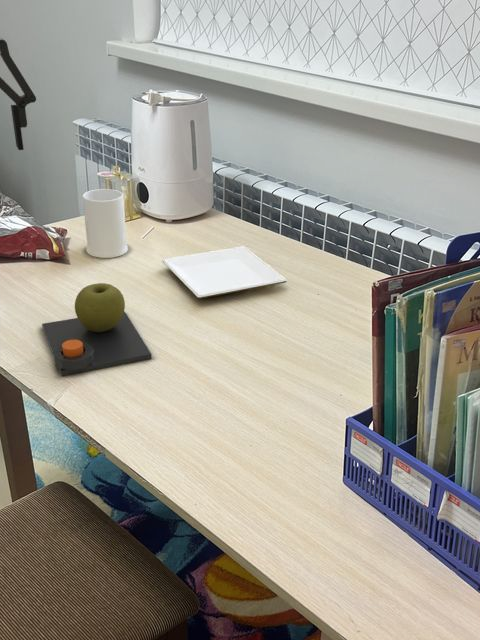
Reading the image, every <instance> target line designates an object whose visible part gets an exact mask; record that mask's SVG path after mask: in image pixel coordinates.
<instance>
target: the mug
mask: <svg viewBox="0 0 480 640" xmlns="http://www.w3.org/2000/svg"><path fill="white" fill-rule="evenodd" d="M82 205H83V215H84V224H85V225H84V226H85V233H86V235H85V236H86V253H87V254H88V255H89V256H92V257H94V258H101V259H110V258H117V257H120V256H123V255H125V254H126V253H127V252H128V251H129V246H128V244H127V230H126V215H125V214H126V213H125V199H124V193H123V192H122V191H120V190H117V189H112V188H98V189H97V188H96V189H91V190H88V191H86V192H83V194H82Z"/></svg>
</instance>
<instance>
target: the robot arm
mask: <svg viewBox="0 0 480 640" xmlns="http://www.w3.org/2000/svg"><path fill="white" fill-rule="evenodd" d="M0 58H1V59H2V61H3V62H4V64H5V66H6V67H7V69H8V71H9V72H10V74H11V75H12V77H13V78H14V80H15V82H16V83H17V85H18V87H19V88H20V90H21V91H22V93H23V94H22V95H19V94H18V93H17V91H15V90H14V89H13V88H12V87H11V85H9V84H8V83H7V82H6V81H5V80H4V78H2V77H1V76H0V90H1V91H2V92H3V93H4V94H5V95H6V96H7V97H8V98H9V99H11V101H13V102H14V104H10V110H11V117H12V125H13V131H14V132H13V133H14V139H15V147H16V148H17V149H18V151H24V150H25V149H24V143H23V142H24V141H23V134H22V128H27V127H28V120H27V119H28V118H27V112H26V107H27V106H28V105H30V104H32V103H35V102H37V97H36V95H35V93H34V92H33V91H32V89H31V87H30V85H29V84H28V82H27V81H26V79H25V77H24V76H23V74H22V73H21V71H20V69H19V68H18V66H17V64H16V63H15V61H14V60H13V58H12V56H11V54H10V50H9V45H8V43H7V41H6V40H5V39H4V38H3V37H0Z"/></svg>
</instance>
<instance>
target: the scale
mask: <svg viewBox="0 0 480 640" xmlns="http://www.w3.org/2000/svg"><path fill="white" fill-rule="evenodd" d="M41 327H42V331H43V333H44V336H45V338H46V342H47V343H48V346H49V348H50V351H51V354H52V361H53V363H54V365H55V367H56V368H58V371H59V373H60V376H61V377H65V376H70V375H75V374H79V373H85V372H90V371H94V370H95V371H96V370H100V369H106V368H112V367H115V366H120V365H125V364H126V365H127V364H131V363H136V362H141V361H146V360H152V352H151V351H150V350H149V347H148V346H147V344H146V343H145V341H144V340H143V338H142V337H141V335H140V333H139V332H138V330H137V328H136V327H135V326H134V323H133V322H132V321H131V318H129V316H128V314H127V312H126V311H125V310H124V313H123V316H122V318H121V320H120V322H119V323H118V324H117V325H116V326H115V327H114V328H112V329H111V330H108V331H105V332H93V331H90V330H88V329H86V328H85V327H84V326H83V325H82V324H81V322H80V321H79V319H78V317H75V318H69V319H63V320H56V321H50V322H44V323H41ZM68 340H79V341H81V342H82V343H83V354H82V355H80V356H77V357H65V356H64V355H63V348H62V344H63V343H64V342H66V341H68Z"/></svg>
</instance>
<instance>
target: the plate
mask: <svg viewBox="0 0 480 640" xmlns="http://www.w3.org/2000/svg"><path fill="white" fill-rule="evenodd" d="M161 262H162V264H164V265H165V266H166V267H167V268H168V269H169V270H170V272H171V273H173V274H174V275H175V276H176V277H177V278H178V279H179V281H181V283H182V284H184V286H185V287H186V288H187V289H188V290H189V291H190V292H192V294H193V295H194V296H195V297H196V298H197V299H199V300H201V299H202V300H203V299H207V298H212V297H217V296H223V295H227V294H233V293H238V292H243V291H249V290H253V289H259V288H264V287H269V286H270V287H271V286H274V285H275V286H276V285H281V284H285V283H287V282H288V279H287V278H286V277H284V276H283V275H282V274H281V273H280V272H278V271H277V270H275V269H274V268H273V267H272V266H271V265H269V264H268V263H266V262H265V261H264V260H263V259H261V257H259V256H257V255H256V254H255V253H254V252H253V251H251V250H250V249H249V248H247V247H246V246H244V245H242V246H241V245H240V246H235V247H228V248H223V249H222V248H221V249H216V250H211V251H210V250H209V251H204V252H198V253H191V254H185V255H178V256H171V257H166V258H163V259H161Z"/></svg>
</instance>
